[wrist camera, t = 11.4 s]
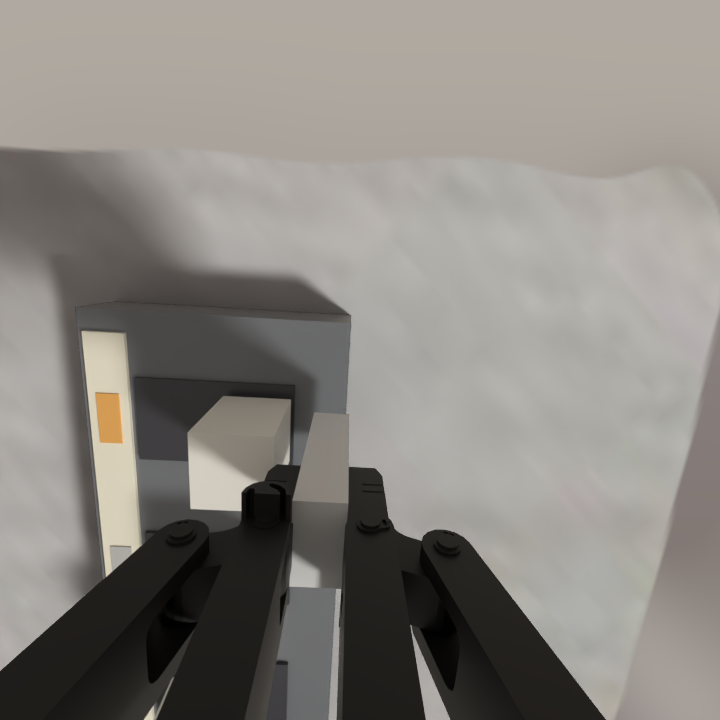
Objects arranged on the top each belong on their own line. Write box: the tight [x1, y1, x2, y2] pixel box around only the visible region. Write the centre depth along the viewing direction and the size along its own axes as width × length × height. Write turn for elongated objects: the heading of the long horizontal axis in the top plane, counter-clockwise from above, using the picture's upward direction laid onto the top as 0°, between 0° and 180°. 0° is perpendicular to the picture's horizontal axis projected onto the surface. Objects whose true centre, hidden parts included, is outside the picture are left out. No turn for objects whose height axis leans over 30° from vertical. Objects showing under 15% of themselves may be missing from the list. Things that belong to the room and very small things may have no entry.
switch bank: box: [75, 301, 351, 720], centre depth 22 cm, size 26×12×3 cm, turn 176°
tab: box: [187, 396, 291, 511], centre depth 16 cm, size 3×3×4 cm
